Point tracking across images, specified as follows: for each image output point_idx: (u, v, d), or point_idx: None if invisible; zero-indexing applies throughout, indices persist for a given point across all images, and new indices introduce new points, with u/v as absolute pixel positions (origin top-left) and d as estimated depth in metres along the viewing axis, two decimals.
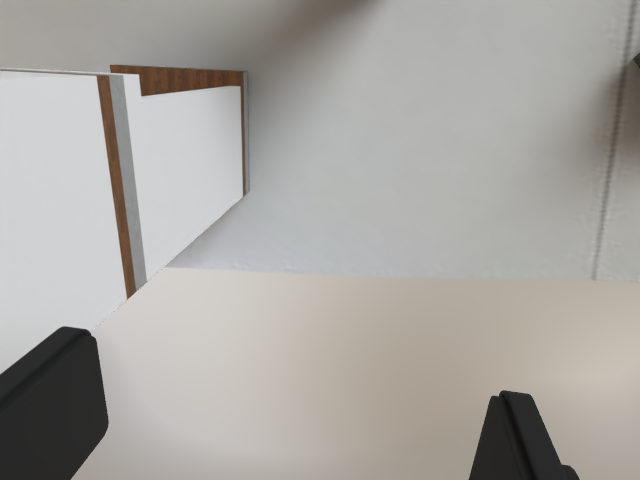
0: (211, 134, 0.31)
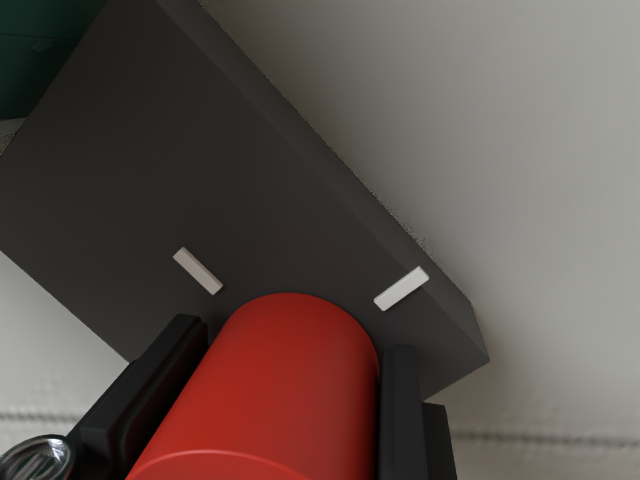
0: None
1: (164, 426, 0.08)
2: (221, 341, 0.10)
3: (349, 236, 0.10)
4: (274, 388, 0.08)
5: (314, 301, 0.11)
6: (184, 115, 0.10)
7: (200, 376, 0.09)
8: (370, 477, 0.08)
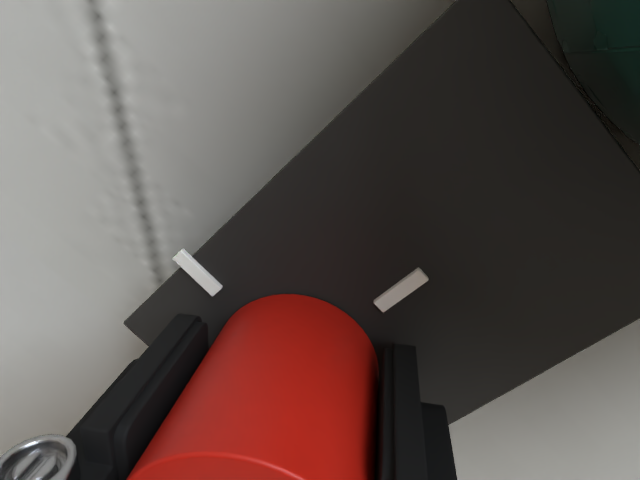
0: None
1: (162, 430, 0.08)
2: (219, 344, 0.10)
3: None
4: (271, 390, 0.08)
5: (311, 302, 0.11)
6: (568, 301, 0.10)
7: (198, 379, 0.09)
8: (369, 476, 0.08)
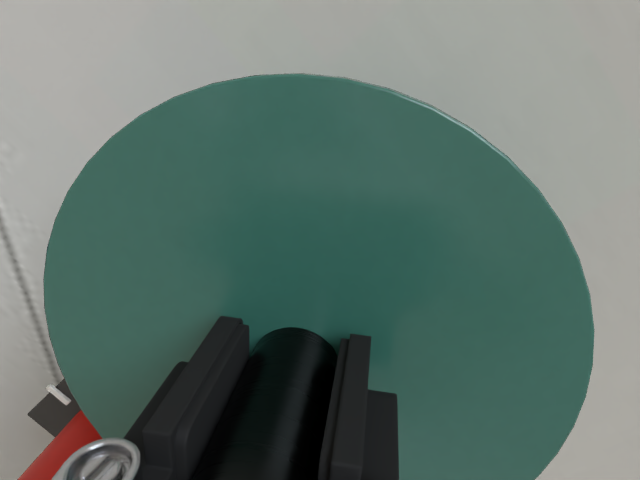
0: None
1: (19, 477, 0.20)
2: (58, 434, 0.22)
3: None
4: (61, 460, 0.20)
5: None
6: None
7: (41, 453, 0.21)
8: None
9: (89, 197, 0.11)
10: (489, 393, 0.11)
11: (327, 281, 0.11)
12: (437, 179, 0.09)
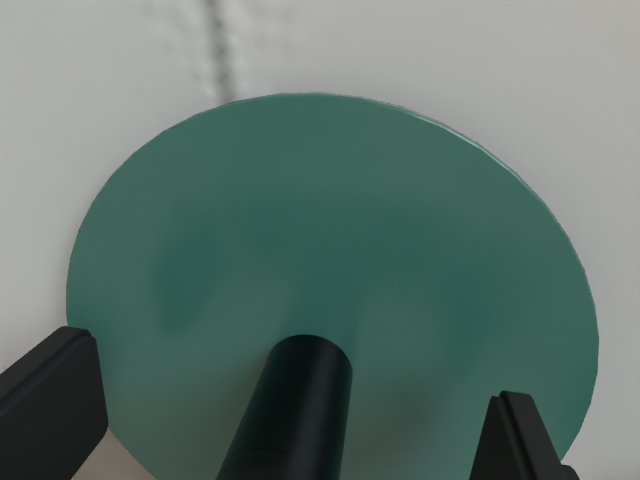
0: None
1: None
2: None
3: None
4: None
5: None
6: None
7: None
8: None
9: (113, 208, 0.11)
10: None
11: (340, 290, 0.11)
12: (447, 193, 0.10)
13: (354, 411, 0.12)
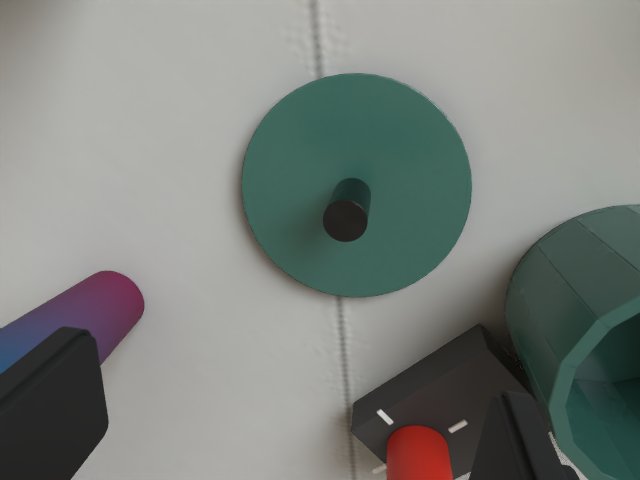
0: None
1: (397, 478, 0.28)
2: (399, 447, 0.30)
3: (467, 467, 0.32)
4: (426, 466, 0.28)
5: (426, 429, 0.31)
6: None
7: (400, 461, 0.29)
8: None
9: (271, 123, 0.27)
10: (432, 204, 0.27)
11: (366, 156, 0.27)
12: (409, 112, 0.26)
13: (371, 215, 0.28)
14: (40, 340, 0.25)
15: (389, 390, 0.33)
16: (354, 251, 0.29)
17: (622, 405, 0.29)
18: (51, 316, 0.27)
